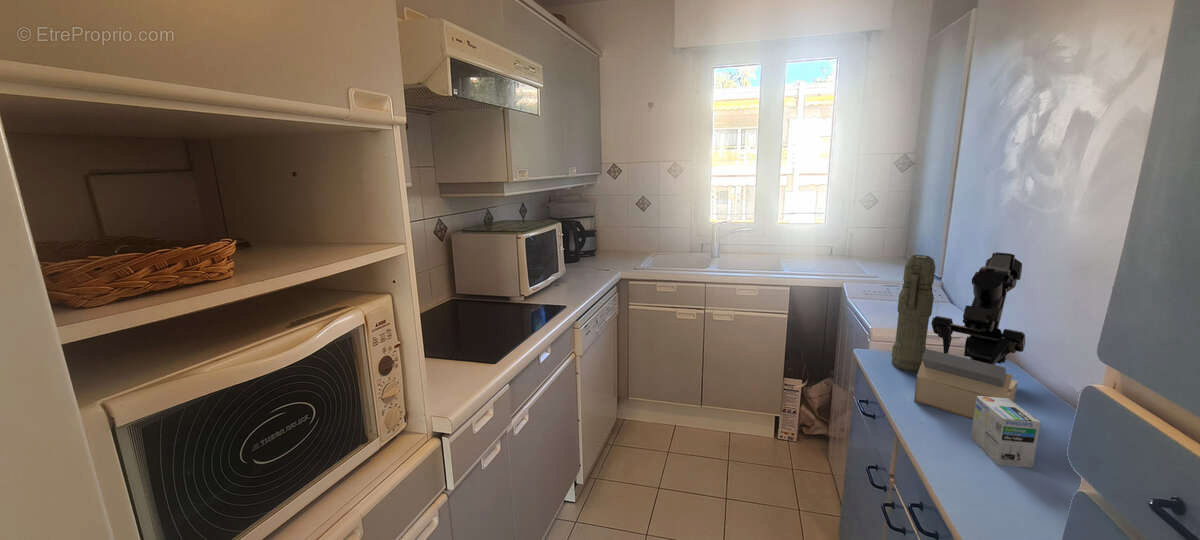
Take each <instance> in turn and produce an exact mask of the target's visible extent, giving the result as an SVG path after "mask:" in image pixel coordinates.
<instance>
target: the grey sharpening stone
mask: <svg viewBox="0 0 1200 540" xmlns="http://www.w3.org/2000/svg"><path fill="white" fill-rule="evenodd" d="M1006 371H1007V370H1006V367H1004V366H1000V365H996V364H995V365H992V364H988V363H984V362H980V361H976V360H971V359H970V358H967V357H962V356H958V355H953V354H950V353H948V354H946V353H944V352H941V351H937V350H933V349H928V348H926V349H925V352H924V354H923V357H922V363H921V366H920V368H919V371H918V372H917V374H916V378H917V377H920V378H923V379H927V380H931V381H934V382H938V383H941V384H945V385H948V386H952V387H956V388H959V389H963V390H966V391H970V392H974V393H977V394H981V395H984V396H988V397H996V398H1006V397H1007V393H1008V390H1009V387H1010V383H1011V380H1013V375H1012V374H1009V373H1007V372H1006Z"/></svg>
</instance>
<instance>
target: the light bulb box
mask: <svg viewBox="0 0 1200 540" xmlns="http://www.w3.org/2000/svg"><path fill="white" fill-rule="evenodd" d="M1041 423H1042V422H1041V421H1040V420H1039V419H1037V418H1036V417H1035V416H1033V415H1031V414H1030V413H1029V412H1027V411H1026V410H1025V409H1023V408H1022V407H1021V406H1019V405H1018V404H1017V403H1015V401H1014V402H1013V401H1011V400H1010V399H1009V398H996V397H985V396H977V400H976V407H975V413H974V419H973V420H972V427H971V432H970V439H971V440H972V441H974V443H975V444H977V446H978V447H979V448H981V450H982V451H983V452H984V453H985V454H986V455H988V457H989V459H991V460H992V461H993V462H994V463H995V464H996V465H997V466H1009V467H1021V468H1027V469H1028V468H1029V469H1032V468H1034V462H1035V461H1034V460H1035V456H1036V451H1037V450H1036V449H1037V445H1038V440H1039V435H1040V429H1041Z"/></svg>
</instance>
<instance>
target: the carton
mask: <svg viewBox="0 0 1200 540" xmlns="http://www.w3.org/2000/svg"><path fill="white" fill-rule="evenodd" d="M1018 382H1019V381H1018V380H1014V379H1012V380H1011V383H1010V387H1009V390H1008V393H1007V397H1006V398H1009V399H1010V400H1011V401H1013V402H1014V403H1015V397H1016V392H1017V387H1018ZM977 396H984V395H981V394H977V393H974V392H970V391H966V390H963V389H959V388H956V387H952V386H948V385H945V384H941V383H938V382H934V381H931V380H927V379H923V378H920V377H917V376H916V382H915V390H914V397H913V399H914V400H913V402H915V403H917V404H918V403H919V404H920V405H921V404H922V405H923V406H928V407H931V408H934V409H938V410H941V411H943V412H947V413H950V414H953V415H957V416H960V417H962V416H963V417H962V418H965V417H966V419H969V420H972V421H973V419H974V413H975V407H976V400H977ZM985 397H988V396H985Z"/></svg>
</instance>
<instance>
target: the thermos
mask: <svg viewBox="0 0 1200 540" xmlns="http://www.w3.org/2000/svg"><path fill="white" fill-rule="evenodd" d="M935 273H936V264H935V261H934V258H933V257H931V256H929V255H923V254H913V255H910V256H909V257H908V258H907V260H906V262H905V264H904V270H903V277H902V278H903V279H902V281H903V284H902V287H901V290H900V291H899V294H898V299H897V300H898V302H897V309H896V310H897V312H898V317H897V324H896V325H897V326H896V331H895V341H894V344H893V345H892V349H891V363H892V364H891V365H892V366H893V365H894V366H895V367H894V366H893V367H894V368H896V367H897V369H899V370H902V371H907V372H914V373H915V372H917V373H918V371H919V368H920V366H921V363H922V357H923V354H924V352H925V349H927V347H926V346H927V345H926V343H927V336H928V329H929V321H930V317H931V316H932V315H933V314H932V313H933V308H934V307H933V306H934V300H935V297H934V293H933V292H934V291H933V284H934V280H935Z"/></svg>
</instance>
